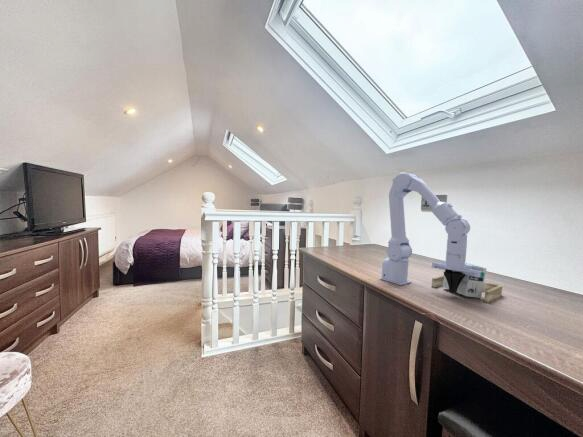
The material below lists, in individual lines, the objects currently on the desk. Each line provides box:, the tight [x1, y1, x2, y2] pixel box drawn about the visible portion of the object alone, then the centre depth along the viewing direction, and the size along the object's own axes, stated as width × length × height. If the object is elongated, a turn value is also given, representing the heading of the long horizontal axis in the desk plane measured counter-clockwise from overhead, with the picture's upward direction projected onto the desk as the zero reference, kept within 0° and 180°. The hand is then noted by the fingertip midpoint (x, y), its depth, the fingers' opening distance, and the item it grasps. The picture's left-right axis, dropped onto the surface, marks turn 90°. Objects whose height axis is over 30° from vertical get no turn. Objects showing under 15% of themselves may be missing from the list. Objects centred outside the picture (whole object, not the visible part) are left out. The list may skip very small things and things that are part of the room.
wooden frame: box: [431, 274, 503, 304], centre depth 94 cm, size 18×14×4 cm
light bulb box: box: [441, 262, 487, 299], centre depth 91 cm, size 11×7×11 cm, turn 11°
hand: (453, 292), depth 88 cm, fingers closed
